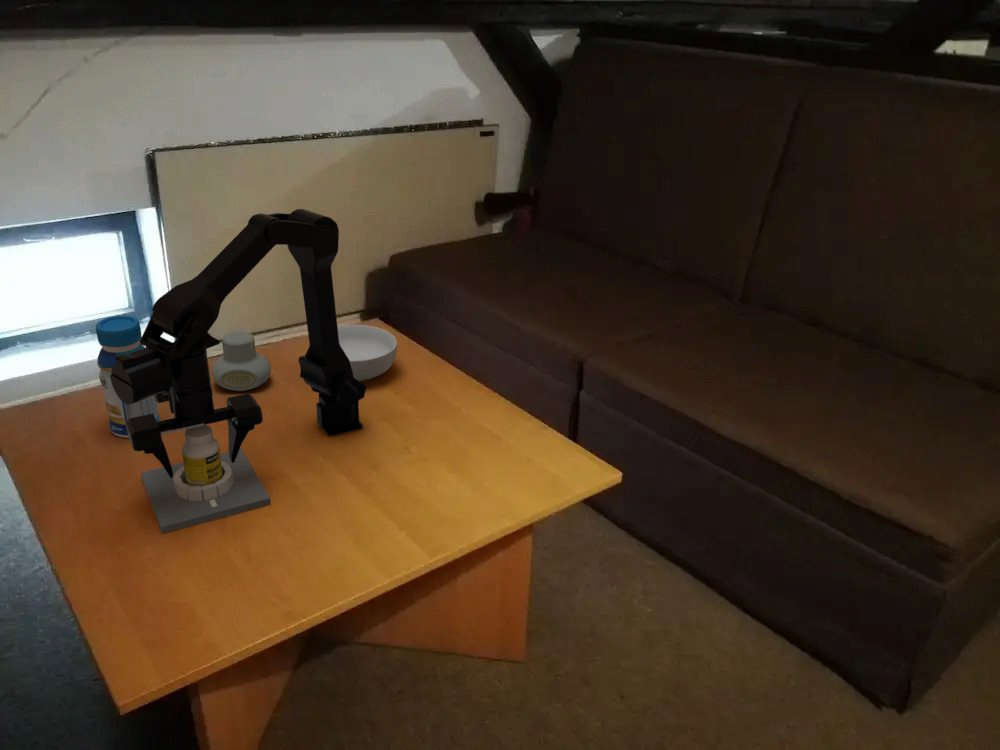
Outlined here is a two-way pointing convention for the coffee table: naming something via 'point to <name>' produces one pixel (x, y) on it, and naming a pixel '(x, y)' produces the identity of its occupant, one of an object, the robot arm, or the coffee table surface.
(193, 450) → the supplement bottle
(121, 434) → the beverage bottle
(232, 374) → the air freshener
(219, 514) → the mount plate
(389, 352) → the cereal bowl
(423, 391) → the coffee table surface
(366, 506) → the coffee table surface
